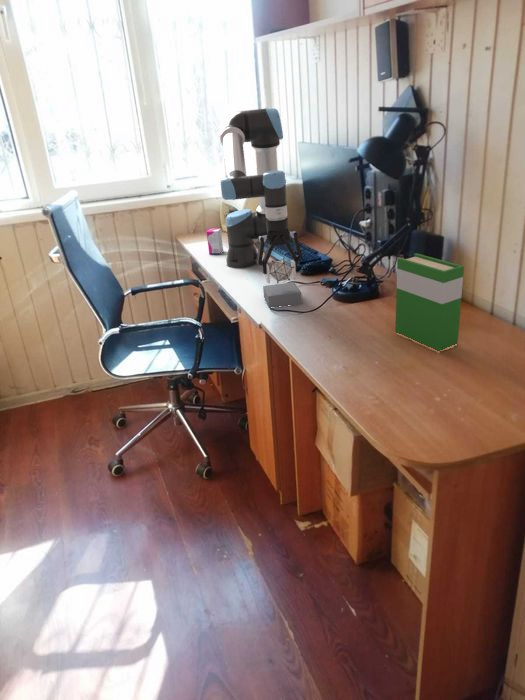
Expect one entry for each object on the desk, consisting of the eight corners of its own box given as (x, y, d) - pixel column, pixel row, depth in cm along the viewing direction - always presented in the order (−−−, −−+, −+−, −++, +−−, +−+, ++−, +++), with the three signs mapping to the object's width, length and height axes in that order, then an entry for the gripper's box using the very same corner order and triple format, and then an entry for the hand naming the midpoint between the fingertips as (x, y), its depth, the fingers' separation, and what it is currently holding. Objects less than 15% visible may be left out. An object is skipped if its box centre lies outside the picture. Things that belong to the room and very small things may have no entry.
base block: (264, 298, 206) (263, 285, 204) (295, 294, 207) (294, 282, 205) (269, 309, 195) (268, 296, 193) (301, 305, 197) (301, 292, 194)
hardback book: (395, 333, 168) (397, 258, 157) (413, 327, 171) (416, 253, 160) (438, 353, 154) (444, 272, 143) (457, 346, 157) (464, 266, 146)
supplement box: (223, 251, 270) (221, 228, 265) (220, 254, 265) (217, 231, 260) (212, 251, 272) (209, 228, 267) (208, 254, 267) (206, 231, 262)
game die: (286, 291, 198) (294, 274, 190) (264, 285, 197) (270, 267, 189) (290, 273, 203) (297, 255, 195) (268, 266, 202) (274, 249, 194)
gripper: (248, 224, 182) (254, 288, 192) (310, 215, 187) (312, 278, 197) (243, 220, 189) (249, 281, 199) (303, 212, 193) (306, 272, 203)
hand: (281, 280), depth 198 cm, fingers closed on game die, 9 cm apart
